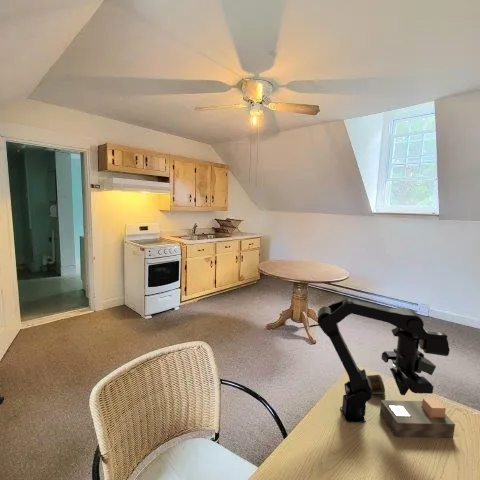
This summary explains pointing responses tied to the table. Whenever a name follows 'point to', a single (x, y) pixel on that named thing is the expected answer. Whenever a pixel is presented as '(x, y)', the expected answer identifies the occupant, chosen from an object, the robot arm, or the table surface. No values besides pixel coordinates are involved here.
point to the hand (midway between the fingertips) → (402, 394)
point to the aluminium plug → (399, 411)
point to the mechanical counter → (377, 384)
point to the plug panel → (416, 421)
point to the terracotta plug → (433, 408)
